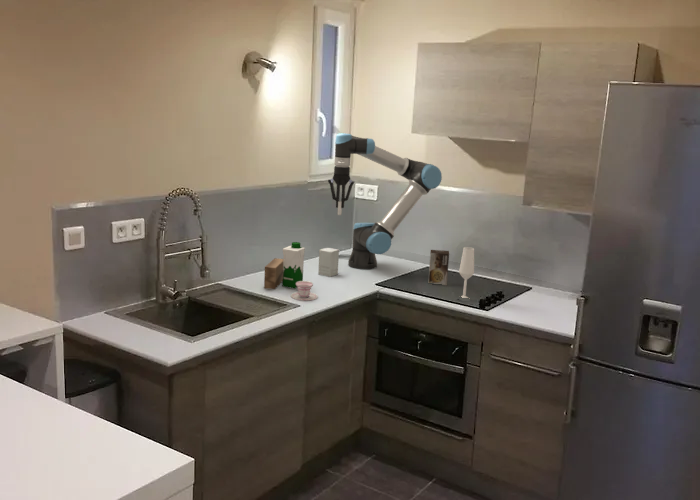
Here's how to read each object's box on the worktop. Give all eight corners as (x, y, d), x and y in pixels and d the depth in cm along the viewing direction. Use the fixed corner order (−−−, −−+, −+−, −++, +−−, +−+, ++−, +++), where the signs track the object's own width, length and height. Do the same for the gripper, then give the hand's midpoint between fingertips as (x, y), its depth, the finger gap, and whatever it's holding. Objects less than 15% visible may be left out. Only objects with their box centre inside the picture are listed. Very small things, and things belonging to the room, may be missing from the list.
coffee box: (446, 282, 346) (449, 250, 342) (446, 285, 340) (449, 253, 336) (427, 280, 347) (430, 249, 343) (427, 284, 340) (430, 252, 337)
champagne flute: (453, 297, 321) (458, 246, 316) (466, 297, 323) (472, 246, 318) (460, 302, 315) (465, 250, 309) (473, 301, 317) (479, 249, 311)
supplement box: (338, 274, 349) (339, 249, 346) (329, 277, 343) (331, 252, 340) (326, 271, 353) (327, 247, 350) (317, 274, 347) (318, 249, 344)
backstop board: (284, 279, 334) (285, 259, 332) (274, 289, 318) (275, 267, 316) (274, 278, 335) (274, 258, 333) (264, 288, 319) (264, 266, 316)
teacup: (290, 292, 315) (290, 279, 313) (317, 293, 316) (317, 280, 315) (290, 300, 303) (291, 287, 302) (318, 301, 304) (319, 287, 303)
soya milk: (305, 285, 327) (307, 243, 322) (295, 289, 319) (297, 247, 314) (288, 282, 330) (290, 240, 326) (279, 286, 322) (280, 244, 318)
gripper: (327, 165, 333) (324, 214, 339) (354, 167, 331) (351, 216, 337) (330, 164, 340) (327, 212, 346) (356, 166, 339) (353, 214, 344)
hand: (339, 214), depth 341 cm, fingers closed
